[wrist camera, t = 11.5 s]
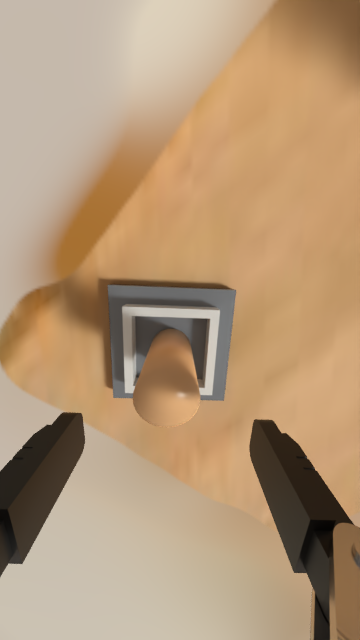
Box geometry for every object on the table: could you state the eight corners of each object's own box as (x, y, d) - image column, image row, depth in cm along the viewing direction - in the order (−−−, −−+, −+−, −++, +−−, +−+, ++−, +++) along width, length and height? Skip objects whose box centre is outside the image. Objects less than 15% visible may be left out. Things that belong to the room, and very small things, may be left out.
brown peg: (191, 329, 18) (202, 369, 11) (189, 366, 19) (198, 427, 12) (151, 327, 18) (131, 367, 10) (151, 365, 19) (133, 426, 11)
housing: (232, 289, 19) (241, 291, 16) (221, 393, 21) (227, 410, 19) (112, 284, 18) (101, 285, 16) (116, 390, 21) (108, 407, 19)
